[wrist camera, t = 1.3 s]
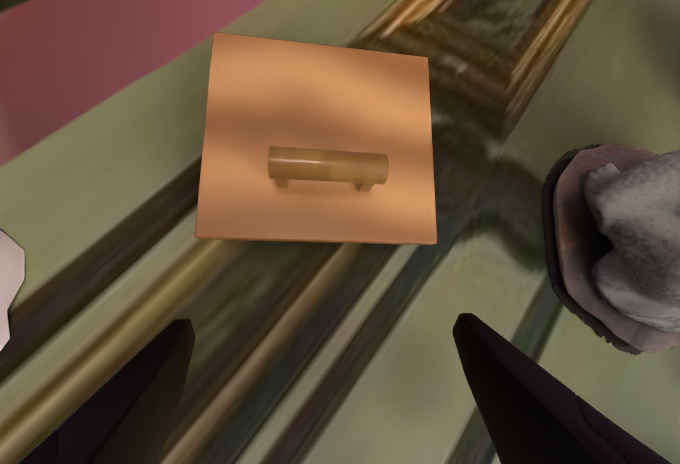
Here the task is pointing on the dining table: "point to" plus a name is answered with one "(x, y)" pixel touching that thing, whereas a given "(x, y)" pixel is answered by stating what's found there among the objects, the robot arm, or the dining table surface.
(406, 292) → the dining table surface
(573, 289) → the angel statue
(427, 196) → the lid
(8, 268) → the figurine
